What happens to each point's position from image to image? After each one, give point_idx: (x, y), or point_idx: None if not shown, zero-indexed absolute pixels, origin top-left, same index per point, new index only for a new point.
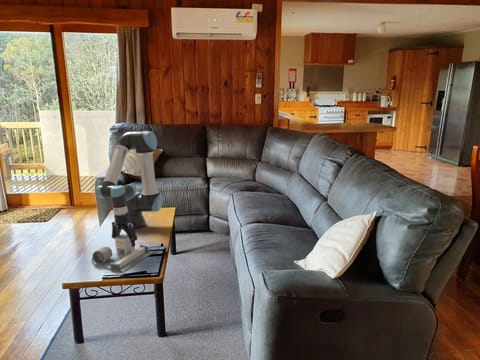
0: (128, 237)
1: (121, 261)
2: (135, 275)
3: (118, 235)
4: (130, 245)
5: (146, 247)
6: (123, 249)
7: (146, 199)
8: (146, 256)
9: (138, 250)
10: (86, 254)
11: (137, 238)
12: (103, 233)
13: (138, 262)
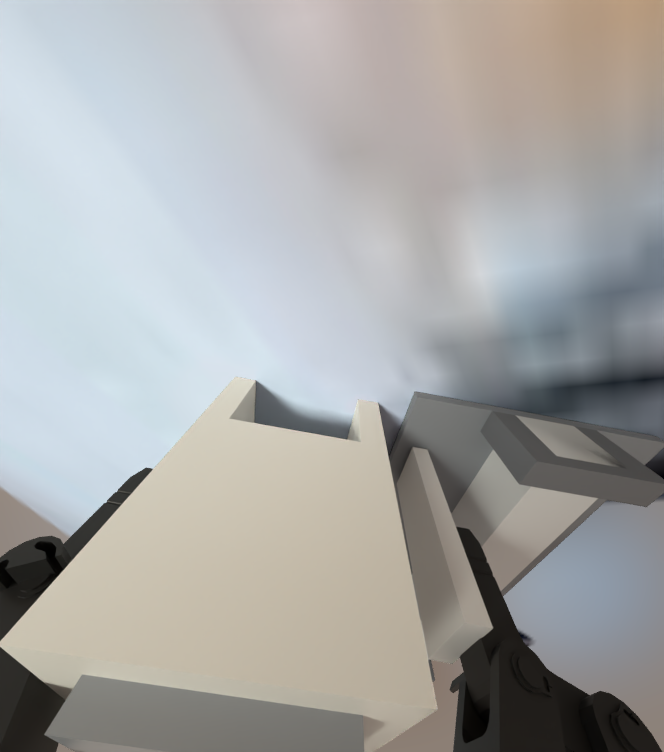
0: (389, 737)
1: (426, 651)
2: (531, 643)
3: (39, 718)
4: (421, 579)
5: (636, 498)
6: (253, 408)
7: None
8: (583, 521)
9: (521, 547)
10: (26, 503)
11: (659, 748)
12: None
13: (519, 573)
